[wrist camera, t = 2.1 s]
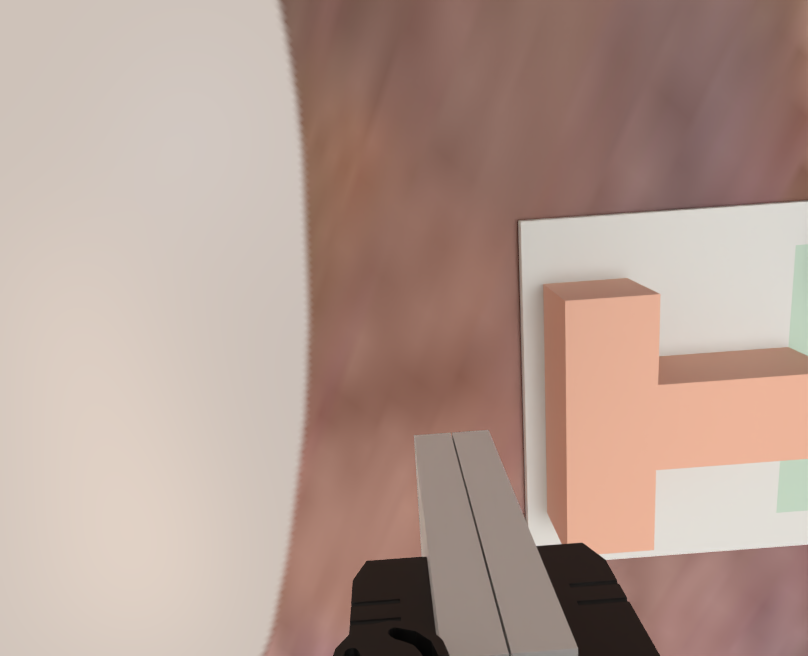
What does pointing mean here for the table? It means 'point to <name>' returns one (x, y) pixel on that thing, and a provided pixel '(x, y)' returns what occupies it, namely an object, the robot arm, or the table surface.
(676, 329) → the mat
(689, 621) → the table surface
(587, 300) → the tee
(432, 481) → the robot arm
